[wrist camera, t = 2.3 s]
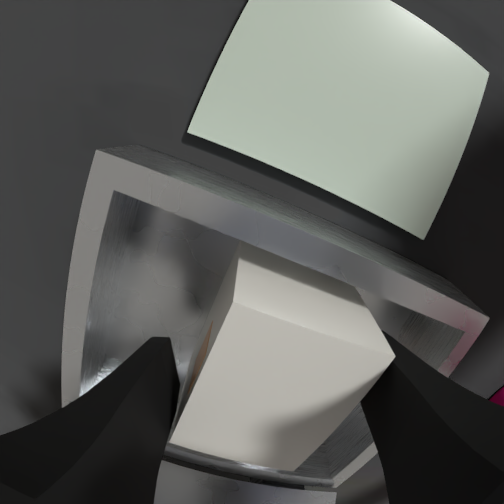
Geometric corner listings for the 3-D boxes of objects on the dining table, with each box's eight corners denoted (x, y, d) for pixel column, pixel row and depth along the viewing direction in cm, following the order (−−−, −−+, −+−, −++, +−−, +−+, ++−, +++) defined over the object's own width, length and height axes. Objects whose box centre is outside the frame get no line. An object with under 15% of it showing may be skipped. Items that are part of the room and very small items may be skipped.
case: (448, 280, 11) (517, 346, 7) (297, 469, 16) (304, 537, 11) (139, 144, 10) (56, 155, 5) (85, 405, 14) (52, 472, 10)
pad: (483, 74, 8) (489, 73, 8) (418, 236, 11) (423, 240, 10) (277, -44, 7) (277, -49, 7) (189, 132, 10) (186, 132, 9)
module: (351, 279, 11) (396, 356, 7) (285, 385, 13) (293, 471, 9) (241, 235, 11) (232, 301, 6) (190, 355, 12) (168, 442, 8)
